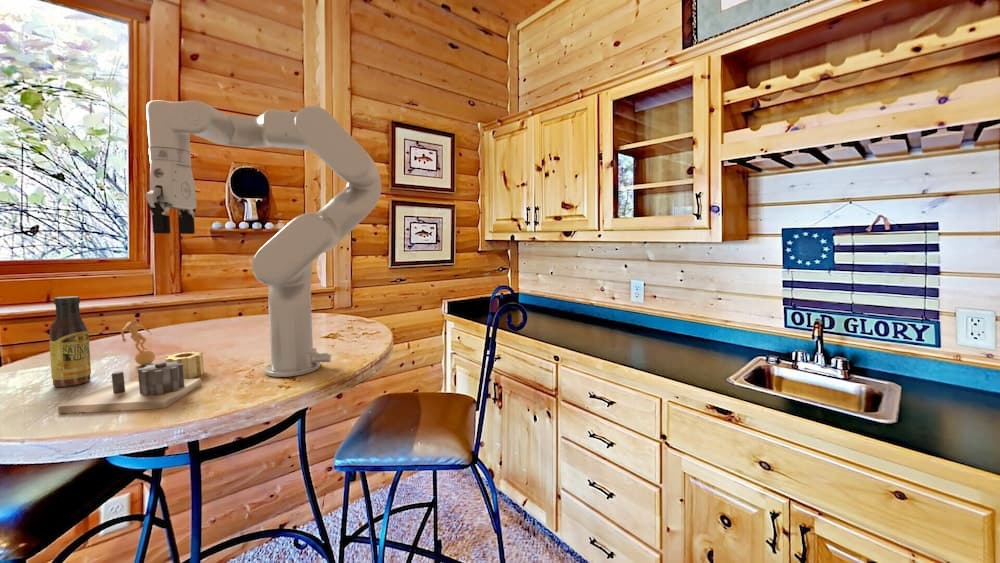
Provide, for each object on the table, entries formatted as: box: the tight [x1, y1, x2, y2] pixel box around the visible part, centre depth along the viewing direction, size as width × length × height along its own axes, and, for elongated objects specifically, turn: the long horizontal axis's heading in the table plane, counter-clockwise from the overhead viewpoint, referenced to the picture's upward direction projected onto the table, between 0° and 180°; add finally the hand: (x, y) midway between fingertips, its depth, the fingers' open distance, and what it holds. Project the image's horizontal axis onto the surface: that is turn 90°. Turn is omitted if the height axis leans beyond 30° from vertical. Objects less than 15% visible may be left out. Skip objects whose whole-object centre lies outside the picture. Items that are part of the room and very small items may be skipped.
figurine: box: [120, 319, 156, 366], centre depth 108 cm, size 8×6×12 cm
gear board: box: [57, 361, 202, 415], centre depth 86 cm, size 18×13×7 cm
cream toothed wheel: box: [164, 350, 205, 379], centre depth 100 cm, size 7×7×5 cm
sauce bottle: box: [48, 295, 92, 388], centre depth 94 cm, size 7×6×20 cm
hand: (175, 233), depth 98 cm, fingers open, 9 cm apart
